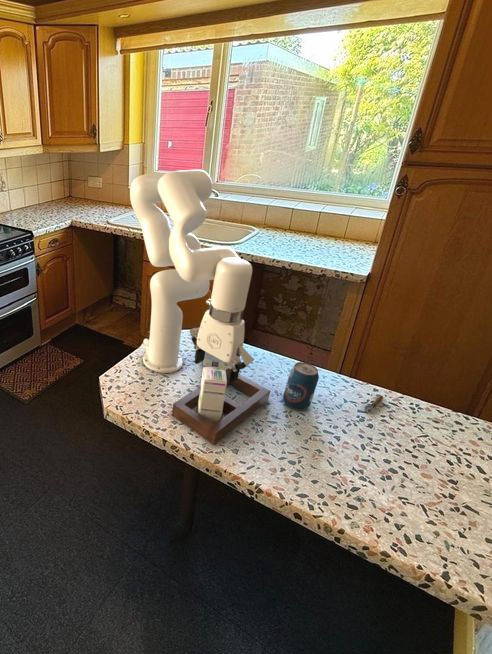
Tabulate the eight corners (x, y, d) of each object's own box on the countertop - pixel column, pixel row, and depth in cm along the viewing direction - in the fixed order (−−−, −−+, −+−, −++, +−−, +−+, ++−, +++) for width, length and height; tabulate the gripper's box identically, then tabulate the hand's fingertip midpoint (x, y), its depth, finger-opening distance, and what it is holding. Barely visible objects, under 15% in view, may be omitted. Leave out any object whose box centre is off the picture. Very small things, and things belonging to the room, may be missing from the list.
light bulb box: (202, 366, 127) (207, 337, 122) (202, 354, 132) (207, 326, 127) (237, 371, 124) (243, 342, 119) (236, 359, 130) (242, 330, 125)
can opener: (378, 397, 113) (379, 394, 113) (387, 402, 111) (388, 399, 111) (361, 409, 109) (362, 406, 108) (370, 414, 107) (371, 411, 107)
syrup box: (220, 427, 103) (228, 382, 96) (196, 423, 104) (203, 379, 97) (218, 412, 108) (226, 368, 101) (196, 409, 109) (203, 365, 102)
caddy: (171, 415, 107) (173, 403, 105) (226, 378, 121) (228, 368, 119) (213, 445, 97) (216, 433, 96) (267, 402, 112) (270, 390, 110)
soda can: (277, 402, 111) (287, 367, 106) (289, 392, 115) (298, 357, 110) (302, 415, 107) (314, 379, 101) (313, 404, 111) (325, 369, 105)
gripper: (185, 302, 95) (178, 360, 103) (250, 332, 83) (236, 395, 92) (205, 293, 99) (196, 350, 108) (269, 321, 88) (254, 382, 96)
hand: (214, 371), depth 100 cm, fingers open, 9 cm apart
